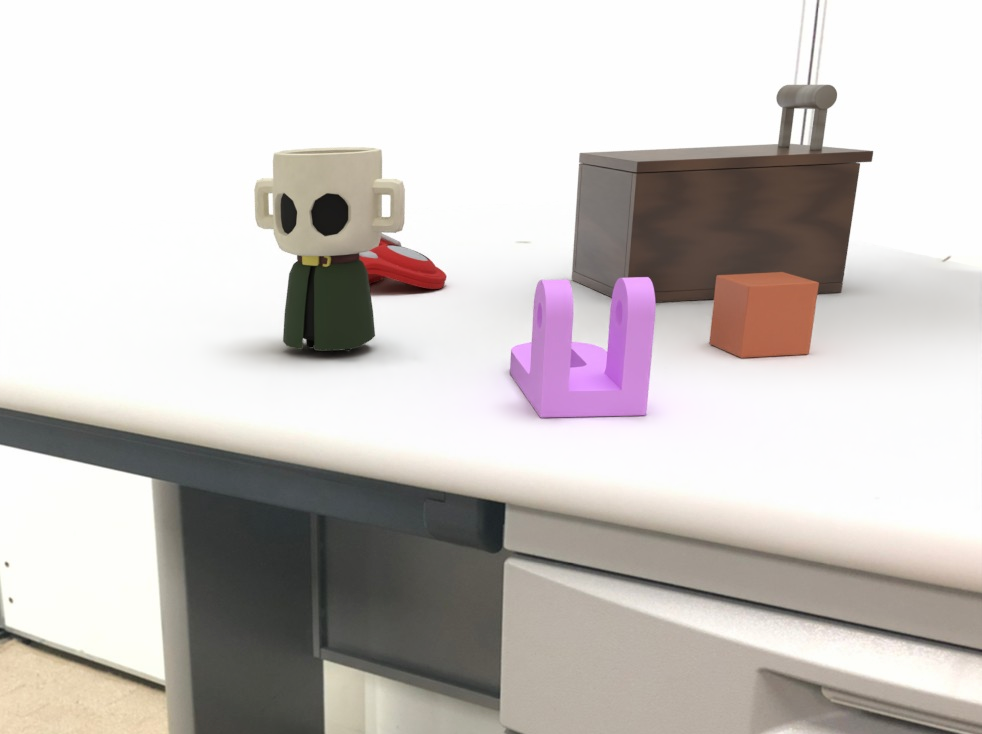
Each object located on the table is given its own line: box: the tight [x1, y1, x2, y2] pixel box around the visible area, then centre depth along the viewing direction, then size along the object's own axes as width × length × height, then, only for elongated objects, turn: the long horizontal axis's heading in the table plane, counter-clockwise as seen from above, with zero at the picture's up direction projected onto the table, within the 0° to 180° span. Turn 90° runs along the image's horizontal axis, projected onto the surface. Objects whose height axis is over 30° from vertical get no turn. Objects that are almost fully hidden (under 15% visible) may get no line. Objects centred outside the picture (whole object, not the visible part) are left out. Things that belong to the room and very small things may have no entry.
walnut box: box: [571, 162, 861, 303], centre depth 98 cm, size 18×13×10 cm
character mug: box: [253, 146, 406, 352], centre depth 80 cm, size 11×7×13 cm, turn 60°
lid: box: [578, 84, 874, 173], centre depth 95 cm, size 18×13×6 cm
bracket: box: [509, 277, 656, 419], centre depth 69 cm, size 13×6×7 cm, turn 177°
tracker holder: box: [359, 233, 447, 290], centre depth 106 cm, size 12×4×10 cm
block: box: [708, 272, 819, 359], centre depth 76 cm, size 4×4×4 cm
